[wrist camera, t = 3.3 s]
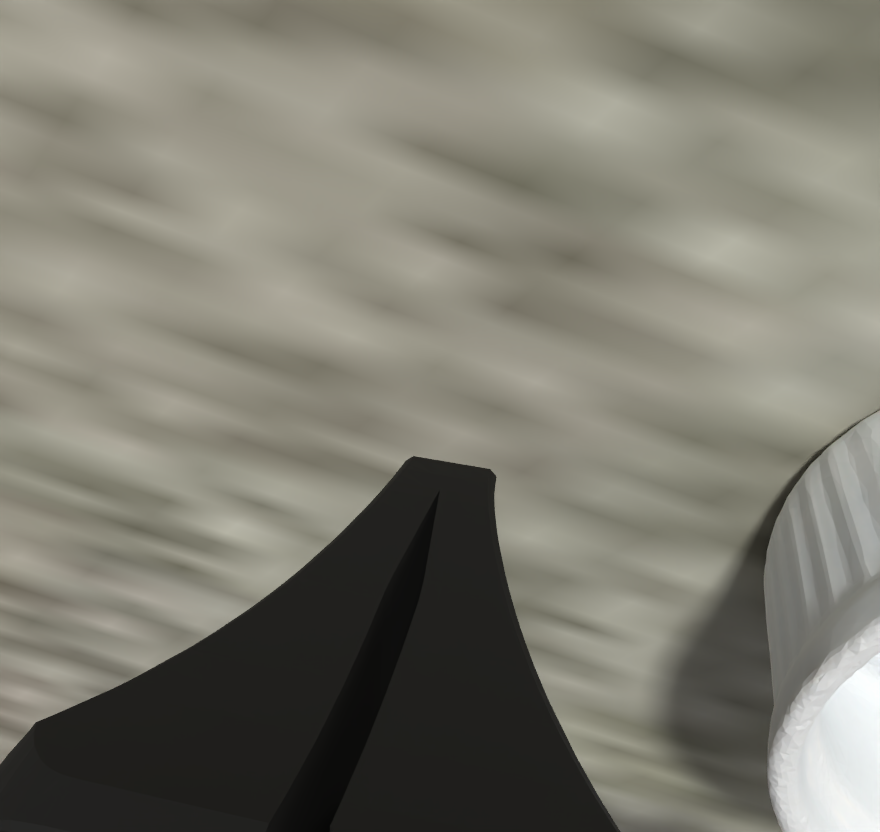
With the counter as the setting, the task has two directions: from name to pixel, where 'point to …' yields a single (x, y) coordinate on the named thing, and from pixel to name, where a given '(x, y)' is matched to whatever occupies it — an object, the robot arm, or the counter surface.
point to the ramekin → (827, 641)
